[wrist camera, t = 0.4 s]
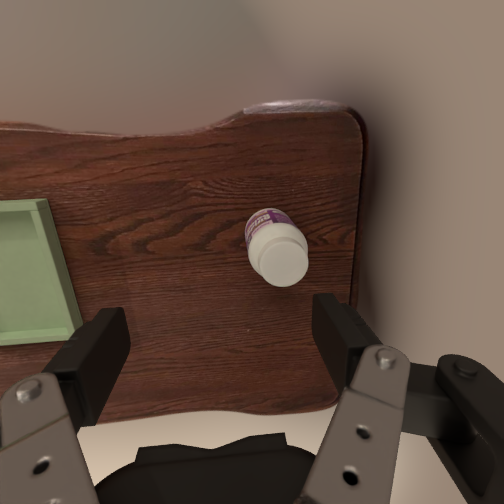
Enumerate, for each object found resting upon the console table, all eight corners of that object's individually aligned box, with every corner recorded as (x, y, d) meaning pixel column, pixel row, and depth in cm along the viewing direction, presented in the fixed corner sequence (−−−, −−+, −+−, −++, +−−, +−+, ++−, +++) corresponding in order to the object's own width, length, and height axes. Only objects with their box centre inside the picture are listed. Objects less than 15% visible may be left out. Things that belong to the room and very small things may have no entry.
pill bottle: (255, 199, 30) (268, 221, 21) (299, 217, 31) (329, 246, 22) (236, 244, 32) (240, 282, 23) (279, 260, 33) (299, 302, 24)
